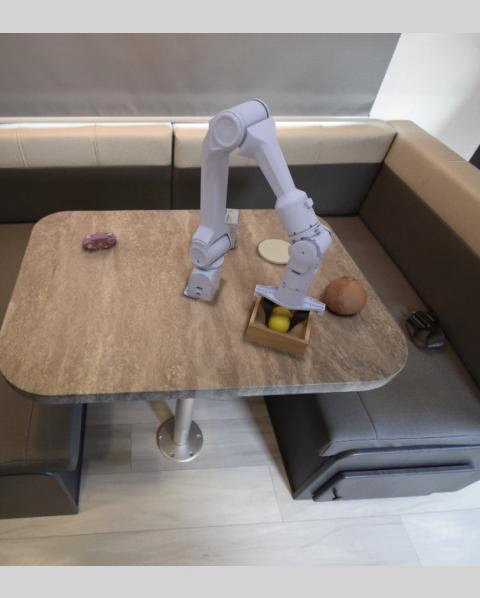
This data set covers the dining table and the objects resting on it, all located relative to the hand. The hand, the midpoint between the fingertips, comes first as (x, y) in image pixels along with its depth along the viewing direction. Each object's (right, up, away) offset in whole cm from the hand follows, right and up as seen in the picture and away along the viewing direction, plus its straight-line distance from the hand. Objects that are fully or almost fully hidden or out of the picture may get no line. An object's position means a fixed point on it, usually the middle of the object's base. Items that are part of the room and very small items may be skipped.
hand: (278, 324), depth 81 cm
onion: (+17, +3, +6) cm, 18 cm away
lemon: (0, -1, +1) cm, 1 cm away
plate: (+7, +20, +22) cm, 30 cm away
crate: (0, -1, +1) cm, 2 cm away
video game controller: (-45, +21, +21) cm, 54 cm away
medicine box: (-7, +24, +25) cm, 35 cm away
